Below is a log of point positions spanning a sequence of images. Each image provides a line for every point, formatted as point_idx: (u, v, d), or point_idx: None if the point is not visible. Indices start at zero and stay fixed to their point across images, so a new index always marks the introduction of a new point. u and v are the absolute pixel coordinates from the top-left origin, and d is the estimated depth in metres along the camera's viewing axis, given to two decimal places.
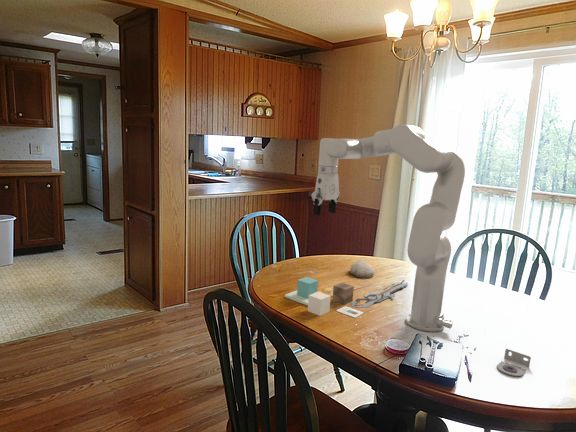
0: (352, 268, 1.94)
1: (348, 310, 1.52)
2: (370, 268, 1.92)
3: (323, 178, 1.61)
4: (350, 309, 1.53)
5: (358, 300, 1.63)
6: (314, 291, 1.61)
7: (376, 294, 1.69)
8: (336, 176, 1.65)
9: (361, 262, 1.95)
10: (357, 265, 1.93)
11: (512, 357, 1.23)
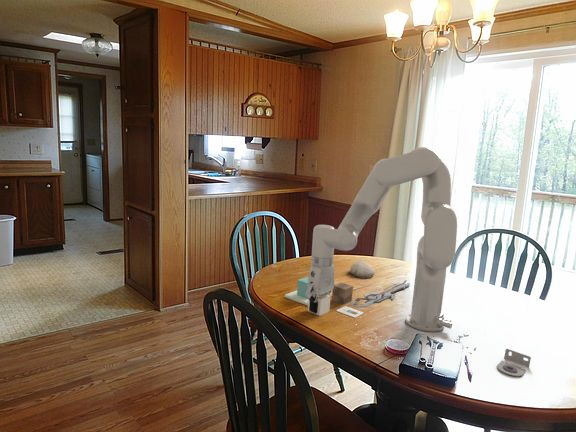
0: (352, 268, 1.93)
1: (348, 310, 1.52)
2: (370, 269, 1.92)
3: (317, 271, 1.43)
4: (350, 309, 1.53)
5: (358, 299, 1.63)
6: None
7: (377, 294, 1.70)
8: (331, 266, 1.48)
9: (361, 262, 1.95)
10: (357, 265, 1.93)
11: (512, 357, 1.22)
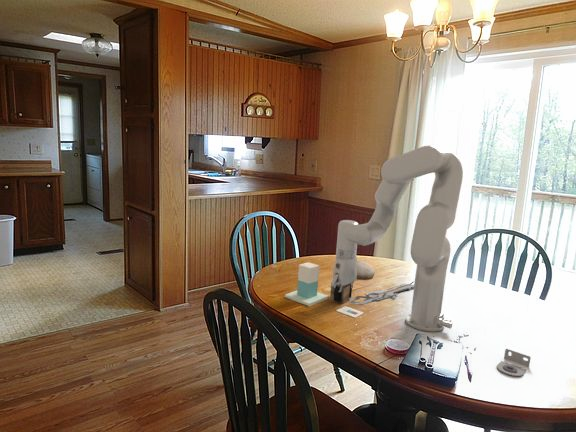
0: None
1: (348, 310, 1.52)
2: (371, 269, 1.91)
3: (342, 263, 1.54)
4: (350, 309, 1.53)
5: (358, 297, 1.66)
6: (314, 291, 1.61)
7: (379, 293, 1.71)
8: (355, 259, 1.59)
9: (361, 263, 1.94)
10: (357, 266, 1.92)
11: (512, 357, 1.23)
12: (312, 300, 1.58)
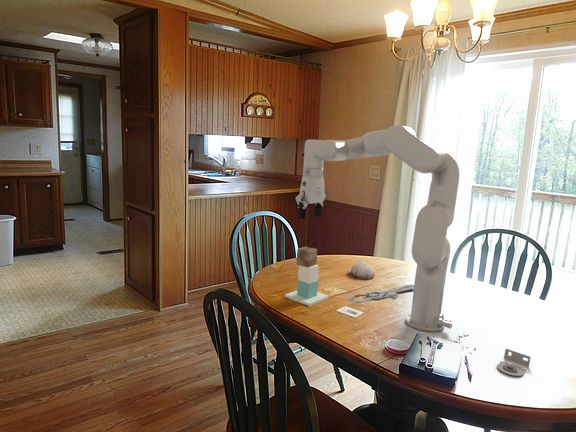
0: (353, 269, 1.92)
1: (348, 310, 1.52)
2: (371, 269, 1.91)
3: (308, 181, 1.56)
4: (350, 309, 1.53)
5: (357, 295, 1.68)
6: (314, 291, 1.61)
7: (380, 292, 1.72)
8: (322, 179, 1.60)
9: (362, 263, 1.93)
10: (358, 266, 1.92)
11: (512, 357, 1.23)
12: (312, 300, 1.58)
